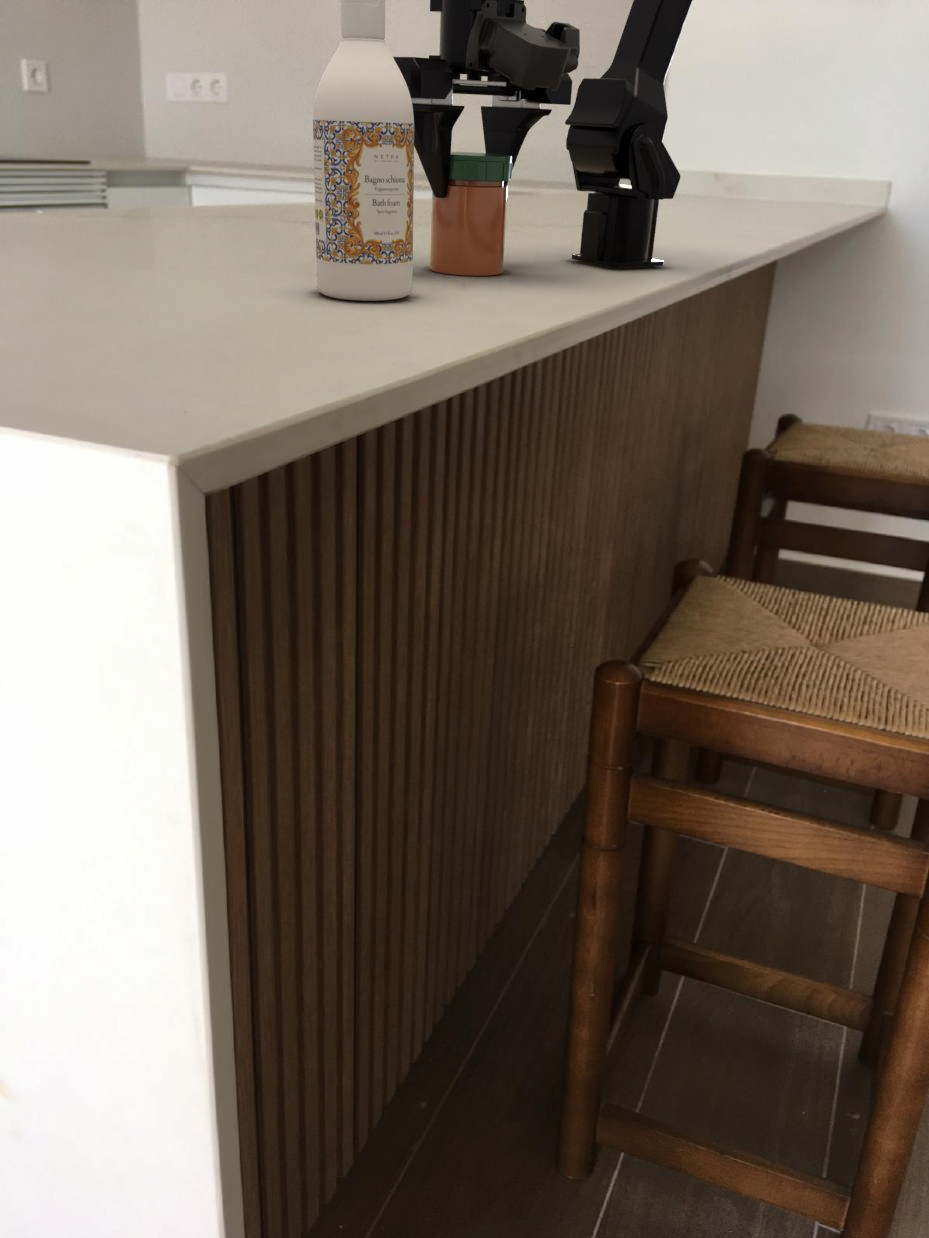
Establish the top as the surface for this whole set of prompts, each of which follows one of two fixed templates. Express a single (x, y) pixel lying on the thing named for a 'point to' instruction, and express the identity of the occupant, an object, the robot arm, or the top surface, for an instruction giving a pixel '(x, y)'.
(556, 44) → the robot arm
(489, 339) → the top surface
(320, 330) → the top surface
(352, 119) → the bath foam
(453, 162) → the lid
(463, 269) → the jar
